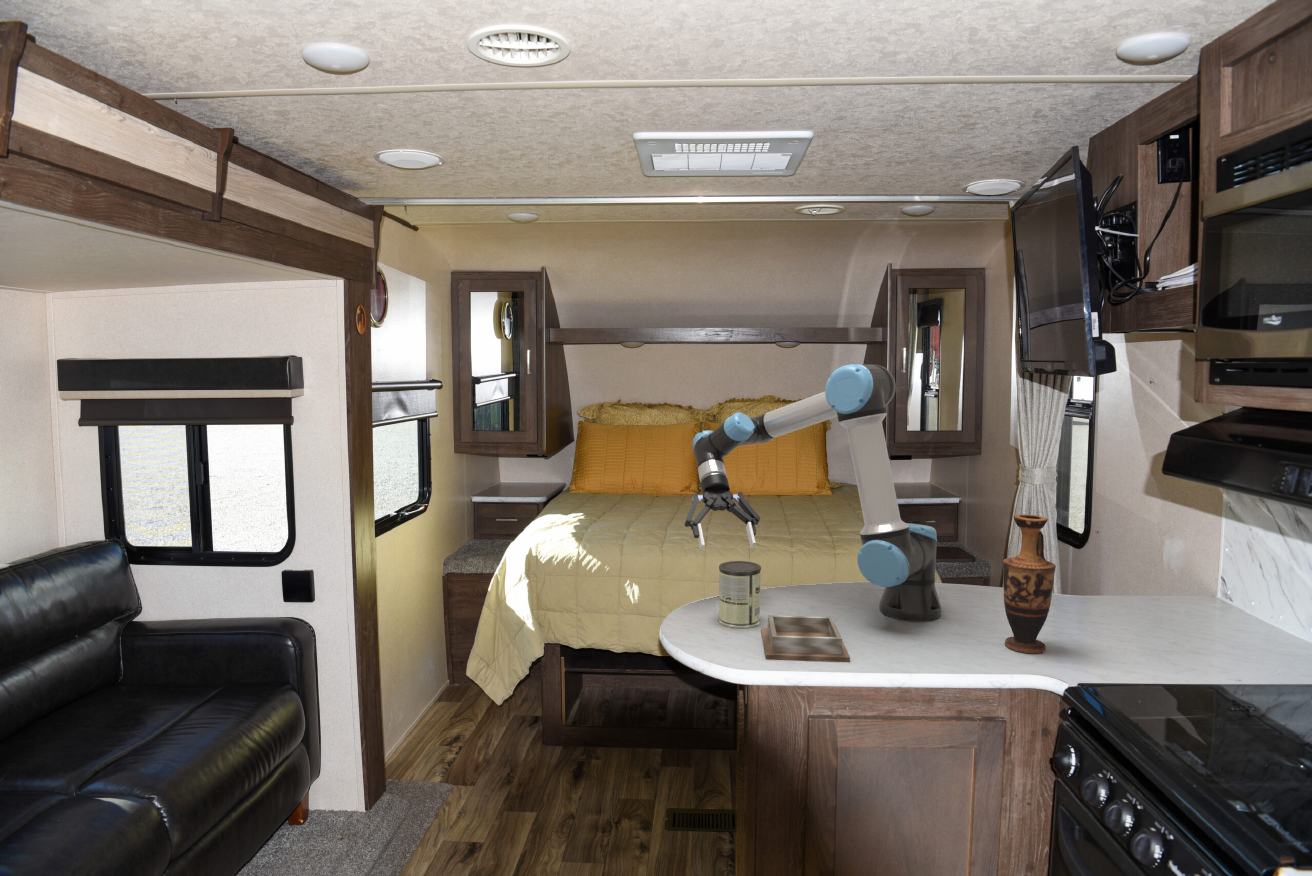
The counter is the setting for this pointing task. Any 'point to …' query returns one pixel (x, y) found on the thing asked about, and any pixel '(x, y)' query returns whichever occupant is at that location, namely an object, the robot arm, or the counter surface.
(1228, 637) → the counter surface
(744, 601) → the coffee can
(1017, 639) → the vase
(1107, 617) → the counter surface
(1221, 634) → the counter surface
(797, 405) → the robot arm
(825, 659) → the collar board
